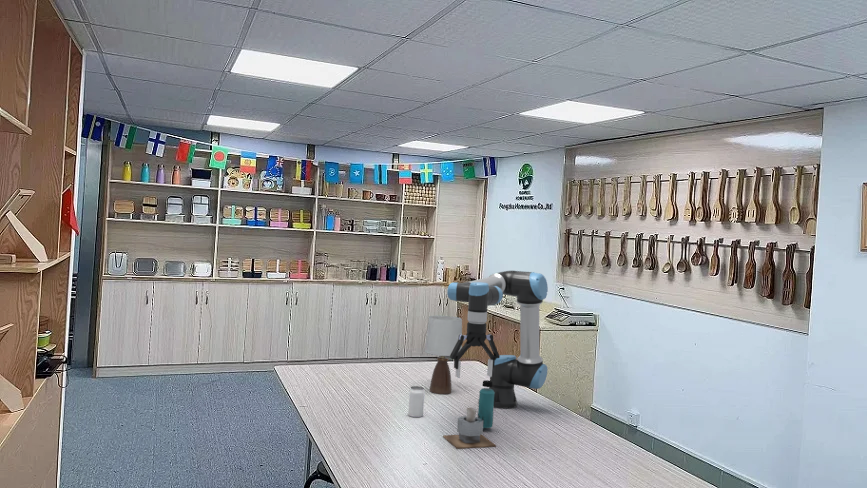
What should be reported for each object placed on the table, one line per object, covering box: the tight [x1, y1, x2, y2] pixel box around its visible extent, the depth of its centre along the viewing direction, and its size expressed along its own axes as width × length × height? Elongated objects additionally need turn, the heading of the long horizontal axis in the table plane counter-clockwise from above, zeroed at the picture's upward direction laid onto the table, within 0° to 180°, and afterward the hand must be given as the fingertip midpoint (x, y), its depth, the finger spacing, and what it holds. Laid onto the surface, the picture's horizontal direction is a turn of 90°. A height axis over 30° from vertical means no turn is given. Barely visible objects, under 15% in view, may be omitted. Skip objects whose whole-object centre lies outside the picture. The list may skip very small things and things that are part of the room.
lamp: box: [424, 315, 463, 395], centre depth 327 cm, size 19×19×37 cm
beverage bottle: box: [477, 379, 495, 429], centre depth 267 cm, size 6×7×20 cm
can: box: [407, 385, 425, 418], centre depth 281 cm, size 6×6×12 cm
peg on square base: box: [442, 407, 497, 450], centre depth 250 cm, size 16×14×13 cm
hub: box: [456, 415, 484, 436], centre depth 250 cm, size 9×9×5 cm
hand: (473, 376), depth 255 cm, fingers open, 13 cm apart
